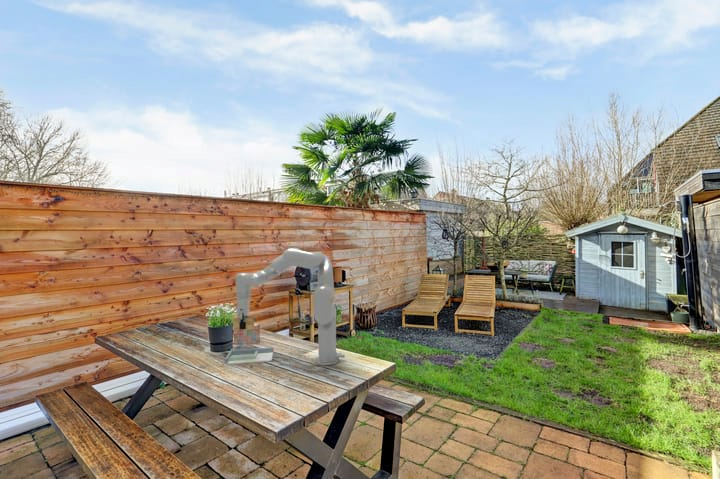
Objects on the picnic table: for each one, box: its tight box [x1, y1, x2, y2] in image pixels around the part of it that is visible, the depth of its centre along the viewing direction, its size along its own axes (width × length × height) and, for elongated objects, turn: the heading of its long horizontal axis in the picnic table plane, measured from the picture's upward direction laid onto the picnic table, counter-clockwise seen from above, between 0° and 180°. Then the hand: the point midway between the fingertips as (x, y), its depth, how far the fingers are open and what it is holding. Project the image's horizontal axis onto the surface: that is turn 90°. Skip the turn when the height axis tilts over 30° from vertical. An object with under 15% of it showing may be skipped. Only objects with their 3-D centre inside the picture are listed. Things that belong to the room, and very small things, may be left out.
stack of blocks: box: [233, 322, 261, 345], centre depth 218 cm, size 21×6×12 cm, turn 85°
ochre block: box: [232, 315, 255, 330], centre depth 189 cm, size 5×10×6 cm, turn 96°
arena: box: [224, 346, 274, 365], centre depth 190 cm, size 24×14×3 cm, turn 100°
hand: (243, 327), depth 189 cm, fingers closed on ochre block, 5 cm apart
